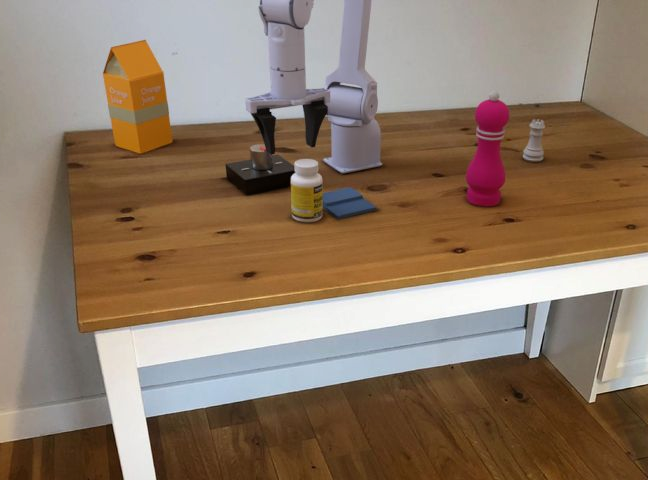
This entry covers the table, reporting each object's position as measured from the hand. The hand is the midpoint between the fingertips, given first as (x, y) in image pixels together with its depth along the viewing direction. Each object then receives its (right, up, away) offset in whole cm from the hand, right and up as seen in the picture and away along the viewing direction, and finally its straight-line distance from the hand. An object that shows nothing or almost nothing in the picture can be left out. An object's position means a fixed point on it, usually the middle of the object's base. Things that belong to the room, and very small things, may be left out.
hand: (290, 149), depth 131 cm
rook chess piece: (+47, +6, +31) cm, 56 cm away
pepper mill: (+34, -7, +12) cm, 37 cm away
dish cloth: (+9, -8, +7) cm, 14 cm away
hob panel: (-7, -2, +15) cm, 16 cm away
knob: (-7, 0, +13) cm, 15 cm away
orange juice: (-35, +8, +29) cm, 46 cm away
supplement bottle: (+3, -11, +3) cm, 12 cm away
